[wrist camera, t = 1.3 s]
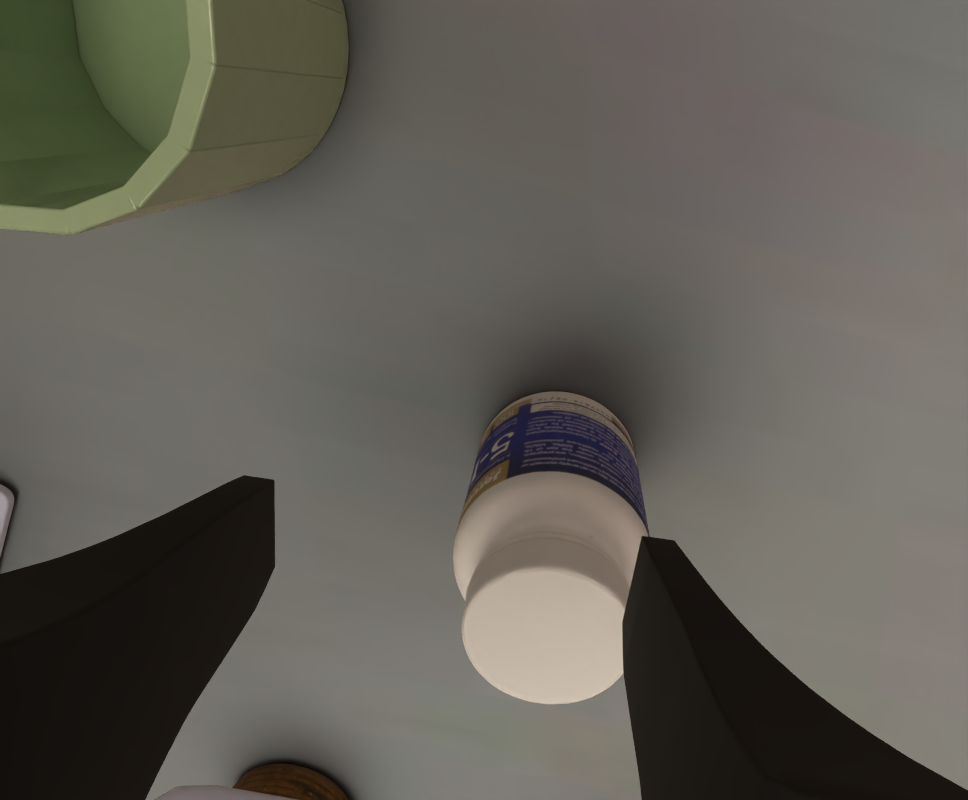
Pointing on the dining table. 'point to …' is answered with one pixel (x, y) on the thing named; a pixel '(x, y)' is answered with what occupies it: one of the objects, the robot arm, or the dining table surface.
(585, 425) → the pill bottle
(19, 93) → the mug
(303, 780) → the utensil holder
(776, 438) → the dining table surface
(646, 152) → the dining table surface
